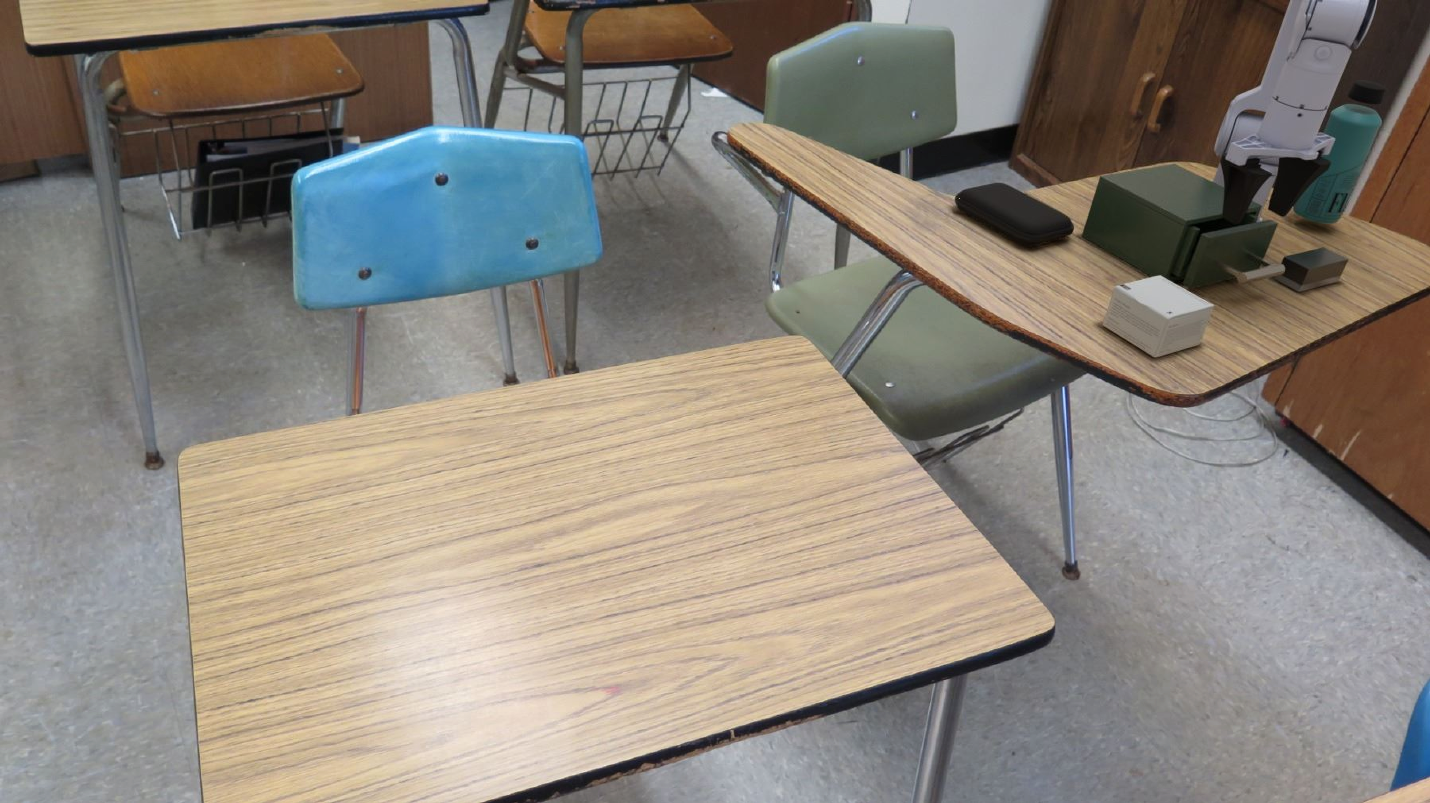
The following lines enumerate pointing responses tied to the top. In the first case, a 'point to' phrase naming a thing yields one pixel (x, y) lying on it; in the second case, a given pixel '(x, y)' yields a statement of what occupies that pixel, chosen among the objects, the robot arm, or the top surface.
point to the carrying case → (1014, 214)
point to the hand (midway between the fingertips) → (1253, 216)
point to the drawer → (1226, 252)
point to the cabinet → (1152, 214)
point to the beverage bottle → (1343, 155)
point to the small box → (1157, 315)
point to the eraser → (1312, 269)
